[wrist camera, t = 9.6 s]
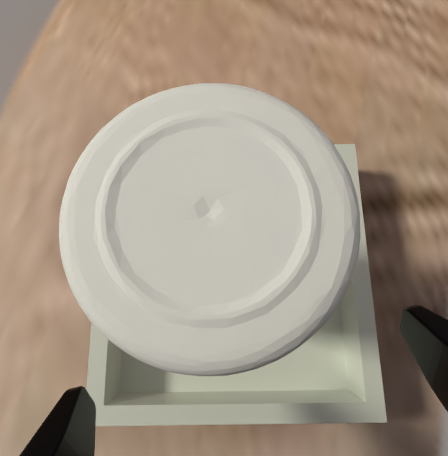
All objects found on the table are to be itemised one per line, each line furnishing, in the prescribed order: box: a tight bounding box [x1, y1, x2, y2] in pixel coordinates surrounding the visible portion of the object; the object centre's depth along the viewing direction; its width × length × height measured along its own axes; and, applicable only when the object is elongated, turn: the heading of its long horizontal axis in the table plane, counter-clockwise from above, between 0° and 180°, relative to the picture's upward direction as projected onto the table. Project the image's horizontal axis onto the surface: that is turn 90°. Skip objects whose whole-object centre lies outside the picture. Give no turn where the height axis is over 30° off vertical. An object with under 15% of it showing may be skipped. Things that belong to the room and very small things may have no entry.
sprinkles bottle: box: [59, 83, 361, 376], centre depth 11 cm, size 5×4×13 cm
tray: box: [87, 144, 387, 426], centre depth 17 cm, size 13×13×3 cm
